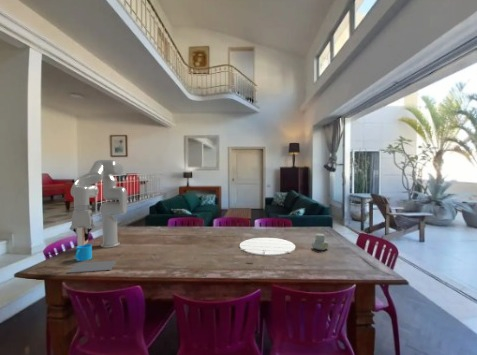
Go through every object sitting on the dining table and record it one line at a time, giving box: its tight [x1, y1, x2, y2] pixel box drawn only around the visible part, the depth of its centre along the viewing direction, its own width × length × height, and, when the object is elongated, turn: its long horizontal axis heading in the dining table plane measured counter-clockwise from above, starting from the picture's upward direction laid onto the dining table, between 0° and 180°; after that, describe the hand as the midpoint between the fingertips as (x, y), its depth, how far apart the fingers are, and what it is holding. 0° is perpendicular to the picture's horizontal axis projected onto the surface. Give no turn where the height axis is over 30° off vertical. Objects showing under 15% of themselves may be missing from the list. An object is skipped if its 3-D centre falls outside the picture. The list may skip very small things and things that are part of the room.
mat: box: [66, 260, 118, 274], centre depth 155 cm, size 14×22×1 cm, turn 100°
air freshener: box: [311, 233, 329, 251], centre depth 185 cm, size 11×8×10 cm
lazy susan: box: [239, 237, 296, 257], centre depth 192 cm, size 40×39×3 cm
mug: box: [74, 243, 93, 262], centre depth 167 cm, size 12×8×8 cm
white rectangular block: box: [76, 227, 89, 246], centre depth 153 cm, size 7×3×10 cm, turn 10°
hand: (83, 240), depth 154 cm, fingers closed on white rectangular block, 3 cm apart
